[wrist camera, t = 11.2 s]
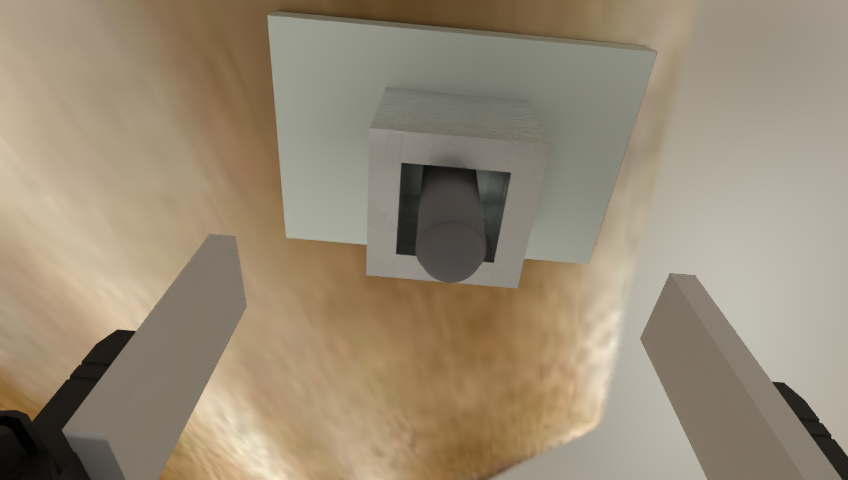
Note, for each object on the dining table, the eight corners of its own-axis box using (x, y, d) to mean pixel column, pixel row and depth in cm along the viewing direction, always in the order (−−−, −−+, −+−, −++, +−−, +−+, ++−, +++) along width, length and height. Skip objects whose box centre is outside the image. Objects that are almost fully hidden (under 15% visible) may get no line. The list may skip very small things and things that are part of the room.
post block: (276, 11, 23) (151, 64, 13) (645, 45, 23) (793, 124, 13) (292, 224, 30) (216, 368, 20) (582, 250, 30) (651, 405, 20)
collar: (385, 87, 23) (369, 127, 18) (528, 100, 23) (550, 144, 18) (380, 212, 27) (366, 275, 22) (503, 223, 27) (517, 288, 22)
